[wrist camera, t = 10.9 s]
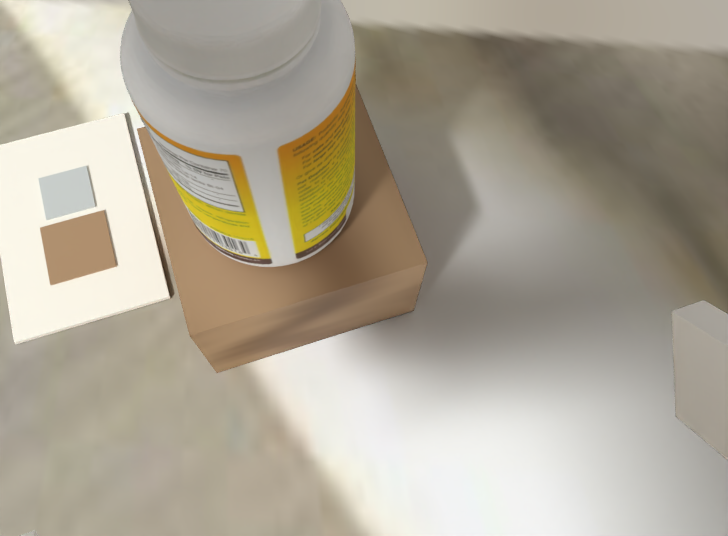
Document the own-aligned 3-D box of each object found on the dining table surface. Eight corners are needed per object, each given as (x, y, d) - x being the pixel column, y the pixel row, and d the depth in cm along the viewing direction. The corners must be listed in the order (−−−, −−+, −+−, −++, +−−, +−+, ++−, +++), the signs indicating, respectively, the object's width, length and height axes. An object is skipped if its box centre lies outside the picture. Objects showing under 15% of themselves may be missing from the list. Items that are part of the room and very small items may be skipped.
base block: (216, 372, 26) (189, 335, 22) (170, 195, 29) (137, 128, 24) (413, 310, 27) (427, 262, 23) (350, 145, 30) (351, 72, 26)
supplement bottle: (346, 121, 25) (344, -141, 15) (362, 265, 23) (372, 65, 13) (188, 134, 24) (85, -126, 15) (191, 281, 22) (75, 89, 13)
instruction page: (16, 344, 27) (13, 342, 26) (-15, 151, 30) (-18, 147, 29) (170, 298, 27) (168, 295, 27) (125, 115, 31) (123, 111, 30)
